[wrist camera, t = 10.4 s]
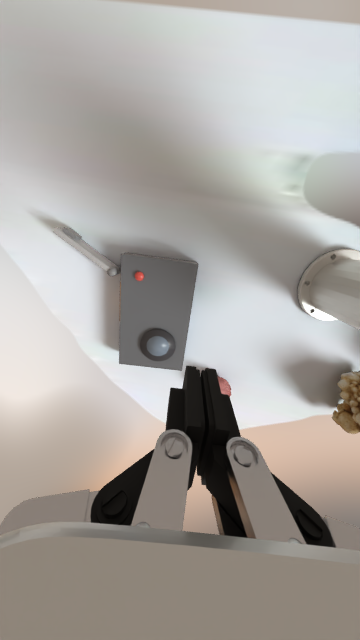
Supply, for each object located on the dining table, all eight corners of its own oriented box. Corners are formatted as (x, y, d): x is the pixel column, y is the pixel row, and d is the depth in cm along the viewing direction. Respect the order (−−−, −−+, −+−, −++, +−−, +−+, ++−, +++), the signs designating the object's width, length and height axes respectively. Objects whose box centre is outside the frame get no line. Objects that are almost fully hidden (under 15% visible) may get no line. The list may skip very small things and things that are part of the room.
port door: (119, 274, 35) (112, 277, 32) (65, 234, 33) (51, 232, 29) (124, 267, 35) (117, 269, 31) (69, 225, 33) (56, 223, 29)
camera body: (196, 261, 35) (198, 264, 30) (181, 359, 42) (181, 372, 38) (125, 252, 34) (118, 253, 30) (123, 353, 41) (116, 365, 37)
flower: (245, 388, 37) (224, 407, 35) (238, 405, 43) (219, 423, 40) (214, 360, 42) (194, 375, 39) (212, 379, 47) (194, 393, 45)
